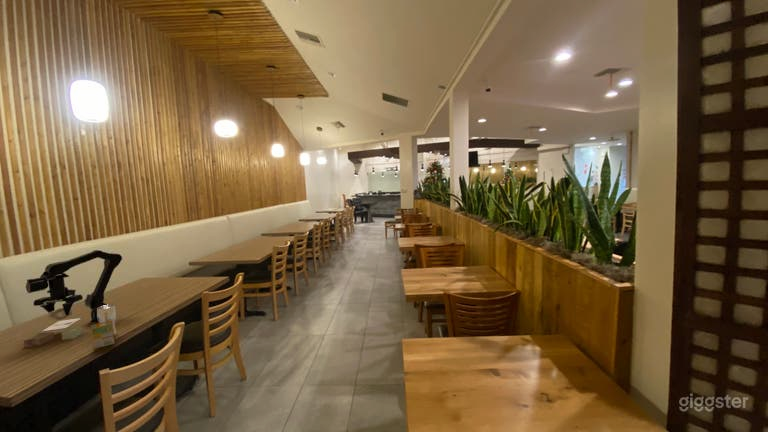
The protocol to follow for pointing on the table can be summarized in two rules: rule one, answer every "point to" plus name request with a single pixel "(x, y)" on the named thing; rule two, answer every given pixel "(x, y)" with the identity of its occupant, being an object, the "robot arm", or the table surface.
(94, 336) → the crayon box
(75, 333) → the sage brick
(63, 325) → the page
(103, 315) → the beer glass
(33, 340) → the walnut base brick
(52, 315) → the maple brick
